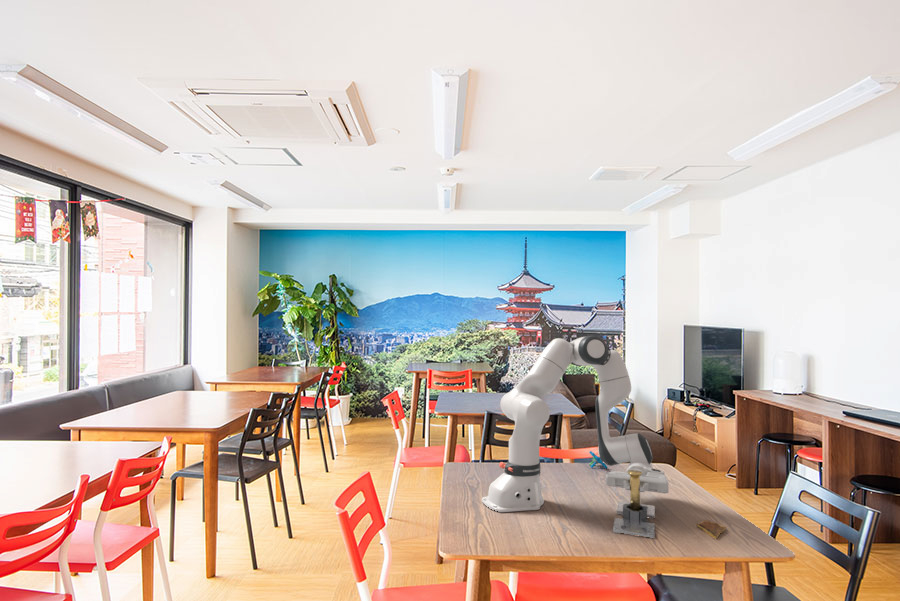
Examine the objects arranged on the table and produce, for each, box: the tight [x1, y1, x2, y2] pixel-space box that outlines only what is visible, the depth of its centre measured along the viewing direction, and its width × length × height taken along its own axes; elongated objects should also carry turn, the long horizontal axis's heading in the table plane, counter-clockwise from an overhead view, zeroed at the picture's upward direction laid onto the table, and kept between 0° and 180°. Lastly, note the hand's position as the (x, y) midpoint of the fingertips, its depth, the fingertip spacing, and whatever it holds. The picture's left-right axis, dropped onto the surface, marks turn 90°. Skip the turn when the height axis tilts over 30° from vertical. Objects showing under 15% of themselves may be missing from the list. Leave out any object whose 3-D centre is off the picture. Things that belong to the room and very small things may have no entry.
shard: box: [696, 519, 727, 540], centre depth 158 cm, size 11×8×2 cm
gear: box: [589, 450, 608, 469], centre depth 228 cm, size 11×6×10 cm
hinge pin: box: [628, 470, 642, 511], centre depth 167 cm, size 4×4×13 cm
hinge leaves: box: [612, 501, 656, 539], centre depth 167 cm, size 27×12×4 cm, turn 158°
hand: (634, 488), depth 166 cm, fingers closed on hinge pin, 3 cm apart
